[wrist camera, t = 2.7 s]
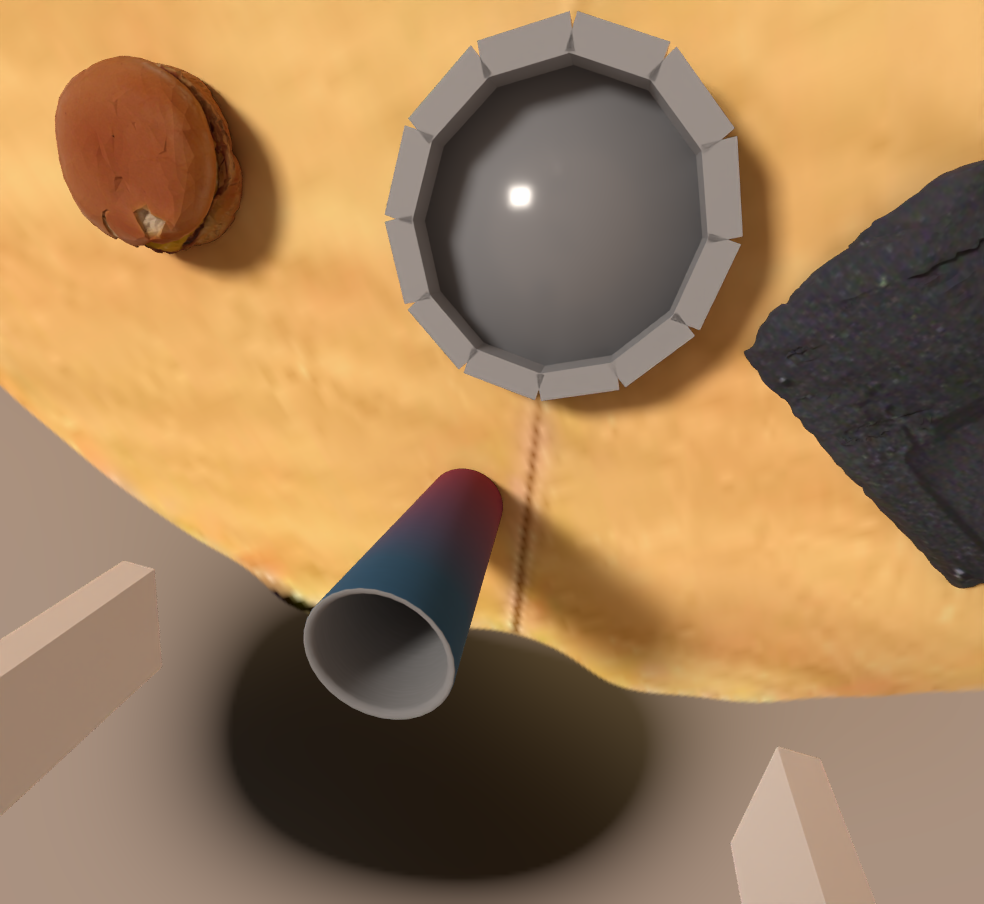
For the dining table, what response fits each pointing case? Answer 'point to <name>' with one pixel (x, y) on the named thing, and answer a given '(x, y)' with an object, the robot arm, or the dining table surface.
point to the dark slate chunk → (899, 367)
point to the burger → (147, 154)
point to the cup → (408, 603)
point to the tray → (565, 207)
